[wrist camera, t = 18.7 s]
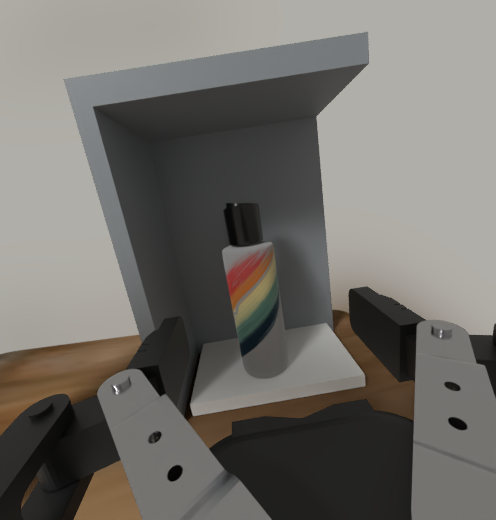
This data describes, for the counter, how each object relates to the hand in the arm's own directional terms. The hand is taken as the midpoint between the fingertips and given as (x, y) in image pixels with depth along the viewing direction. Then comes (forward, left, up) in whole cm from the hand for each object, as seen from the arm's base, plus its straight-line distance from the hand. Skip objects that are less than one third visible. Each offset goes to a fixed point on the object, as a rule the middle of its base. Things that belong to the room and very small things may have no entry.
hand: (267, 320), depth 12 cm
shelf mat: (+1, +17, -16) cm, 24 cm away
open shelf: (0, +18, -16) cm, 24 cm away
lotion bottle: (0, +16, -15) cm, 22 cm away
